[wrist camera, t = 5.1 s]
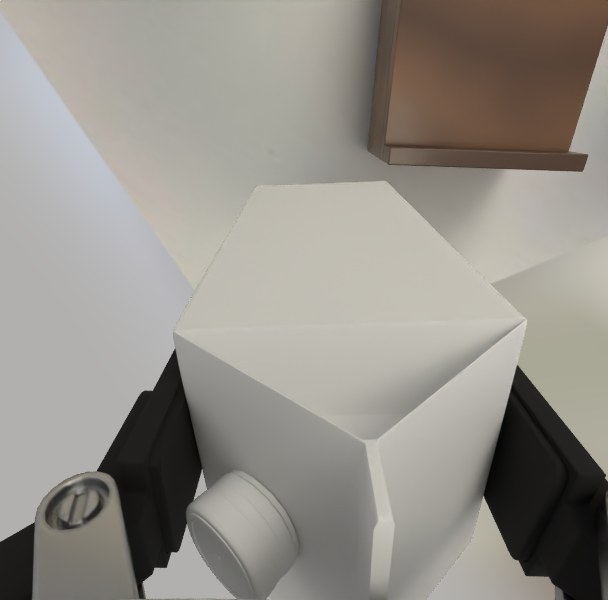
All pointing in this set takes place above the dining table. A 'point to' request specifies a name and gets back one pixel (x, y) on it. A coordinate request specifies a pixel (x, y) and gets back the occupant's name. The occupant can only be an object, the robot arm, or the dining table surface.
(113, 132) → the dining table surface
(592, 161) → the dining table surface
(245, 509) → the milk carton
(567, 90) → the brown wooden box
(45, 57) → the dining table surface
